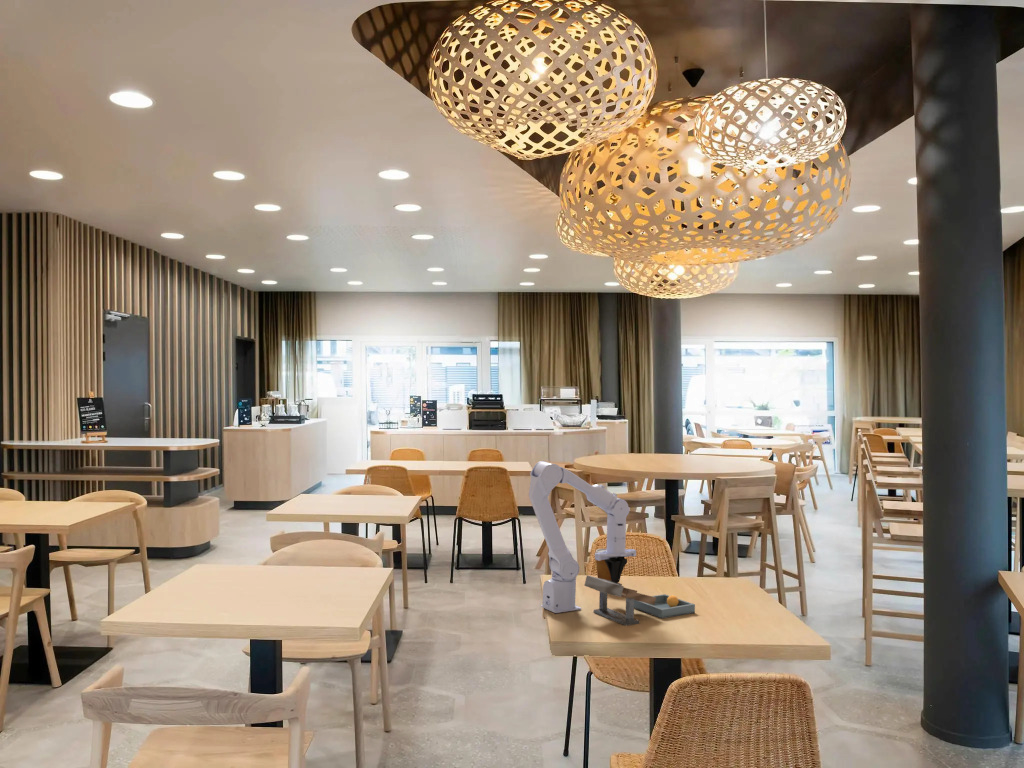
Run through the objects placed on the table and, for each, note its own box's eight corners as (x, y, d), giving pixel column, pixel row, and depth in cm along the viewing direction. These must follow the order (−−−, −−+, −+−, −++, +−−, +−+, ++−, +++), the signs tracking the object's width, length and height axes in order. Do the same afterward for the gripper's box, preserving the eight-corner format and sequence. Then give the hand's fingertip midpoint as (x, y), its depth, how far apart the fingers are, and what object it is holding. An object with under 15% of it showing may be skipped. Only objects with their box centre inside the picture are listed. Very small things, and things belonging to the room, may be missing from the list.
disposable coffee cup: (621, 592, 255) (622, 555, 255) (592, 589, 257) (593, 553, 257) (623, 585, 264) (624, 549, 264) (595, 583, 266) (595, 547, 266)
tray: (661, 618, 226) (661, 609, 226) (632, 607, 237) (632, 599, 237) (694, 612, 233) (694, 604, 233) (664, 602, 244) (664, 594, 244)
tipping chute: (603, 593, 217) (606, 582, 218) (567, 579, 232) (570, 569, 232) (654, 605, 227) (656, 594, 228) (617, 591, 242) (619, 581, 242)
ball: (681, 607, 236) (672, 609, 234) (673, 604, 239) (664, 606, 237) (680, 595, 236) (672, 598, 234) (672, 593, 239) (664, 595, 237)
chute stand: (625, 625, 218) (626, 600, 218) (593, 612, 230) (594, 588, 230) (639, 623, 221) (639, 598, 221) (607, 610, 233) (607, 586, 233)
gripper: (605, 541, 232) (604, 587, 232) (643, 537, 240) (642, 582, 240) (591, 537, 238) (590, 582, 238) (628, 533, 246) (627, 577, 246)
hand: (615, 581), depth 239 cm, fingers closed
